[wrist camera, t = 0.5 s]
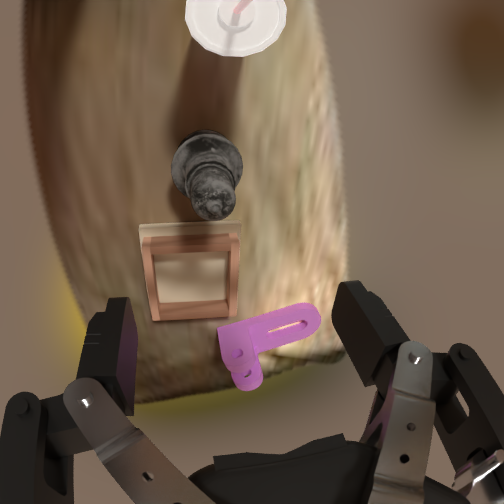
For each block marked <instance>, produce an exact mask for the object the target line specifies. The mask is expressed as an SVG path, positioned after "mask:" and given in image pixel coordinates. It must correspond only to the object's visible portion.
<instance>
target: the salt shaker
mask: <svg viewBox="0 0 504 504" xmlns="http://www.w3.org/2000/svg"><path fill="white" fill-rule="evenodd" d="M242 170H243V163H242V158H241V155H240V153H239V151H238V149H237V148H236V147H235V146H234V144H233V143H232V142H231V141H229V140H227V139H226V138H225V137H224V136H223V135H221V134H220V133H218V132H215V131H212V130H200V131H196V132H194V133H192V134H190V135H188V136H187V137H186V138H185V139H184V140H183V141H182V142H181V144H180V145H179V147H178V150H177V151H176V153H175V155H174V157H173V160H172V164H171V174H172V178H173V182H174V183H175V185H176V187H177V188H178V190H179V191H180V192H181V193H182V194H183V195H185V196H186V197H188V198H190V200H191V204H192V207H193V209H194V211H195V212H196V214H198V215H199V216H200V217H201V218H203V219H205V220H209V221H218V220H222V219H224V218H226V217H227V216H228V215H230V214H231V212H232V211H233V209H234V207H235V203H236V196H235V192H234V191H235V187H236V186H237V185H238V183H239V181H240V179H241V176H242Z"/></svg>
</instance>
